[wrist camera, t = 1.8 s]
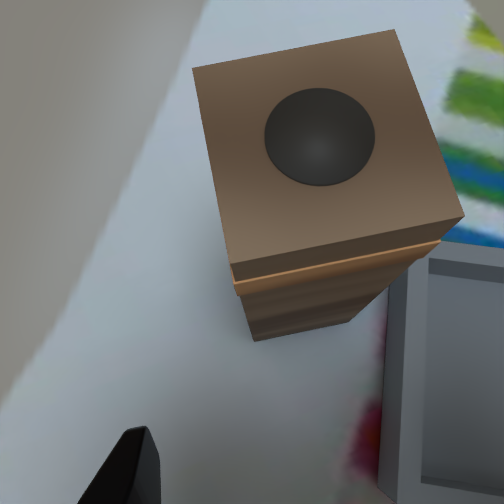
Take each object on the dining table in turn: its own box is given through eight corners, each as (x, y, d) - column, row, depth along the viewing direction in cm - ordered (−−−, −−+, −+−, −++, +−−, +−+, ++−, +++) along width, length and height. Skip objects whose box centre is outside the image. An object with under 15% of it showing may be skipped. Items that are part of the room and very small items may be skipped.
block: (350, 322, 21) (471, 215, 8) (253, 342, 21) (226, 265, 8) (325, 232, 22) (397, 23, 10) (234, 250, 22) (189, 63, 10)
